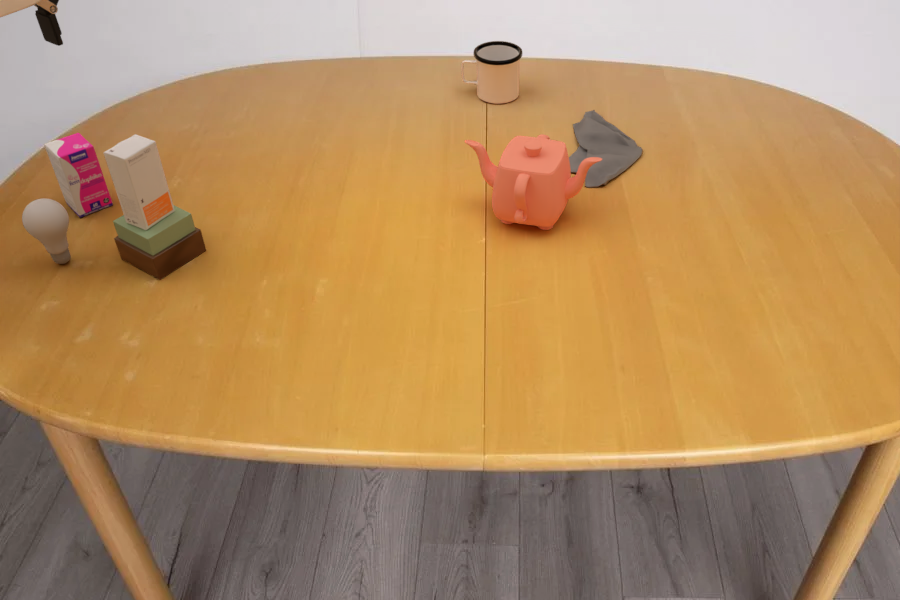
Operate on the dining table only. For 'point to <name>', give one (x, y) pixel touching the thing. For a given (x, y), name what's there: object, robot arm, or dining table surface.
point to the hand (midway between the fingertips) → (21, 56)
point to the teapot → (531, 180)
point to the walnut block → (163, 254)
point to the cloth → (602, 149)
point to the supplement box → (79, 174)
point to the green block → (156, 231)
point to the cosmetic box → (139, 181)
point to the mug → (496, 71)
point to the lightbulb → (48, 227)
